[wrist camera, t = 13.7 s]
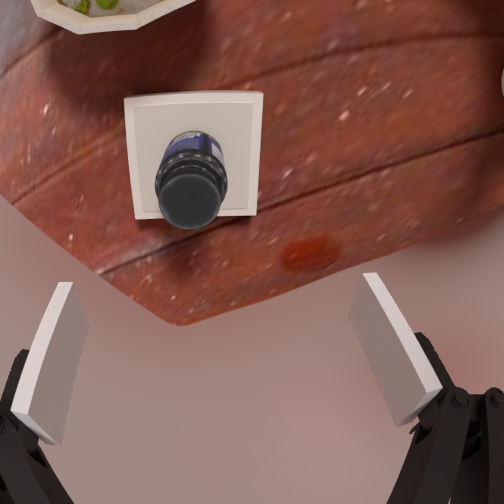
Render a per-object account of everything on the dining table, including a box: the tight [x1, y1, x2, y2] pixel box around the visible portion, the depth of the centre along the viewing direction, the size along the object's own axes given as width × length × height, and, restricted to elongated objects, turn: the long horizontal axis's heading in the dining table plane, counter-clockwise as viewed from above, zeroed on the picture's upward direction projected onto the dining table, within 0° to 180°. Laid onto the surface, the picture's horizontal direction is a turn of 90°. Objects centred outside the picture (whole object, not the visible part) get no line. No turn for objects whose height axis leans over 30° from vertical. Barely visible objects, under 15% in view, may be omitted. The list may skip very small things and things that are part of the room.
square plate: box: [124, 91, 263, 219], centre depth 33 cm, size 14×14×3 cm
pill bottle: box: [155, 131, 228, 230], centre depth 27 cm, size 6×6×11 cm
